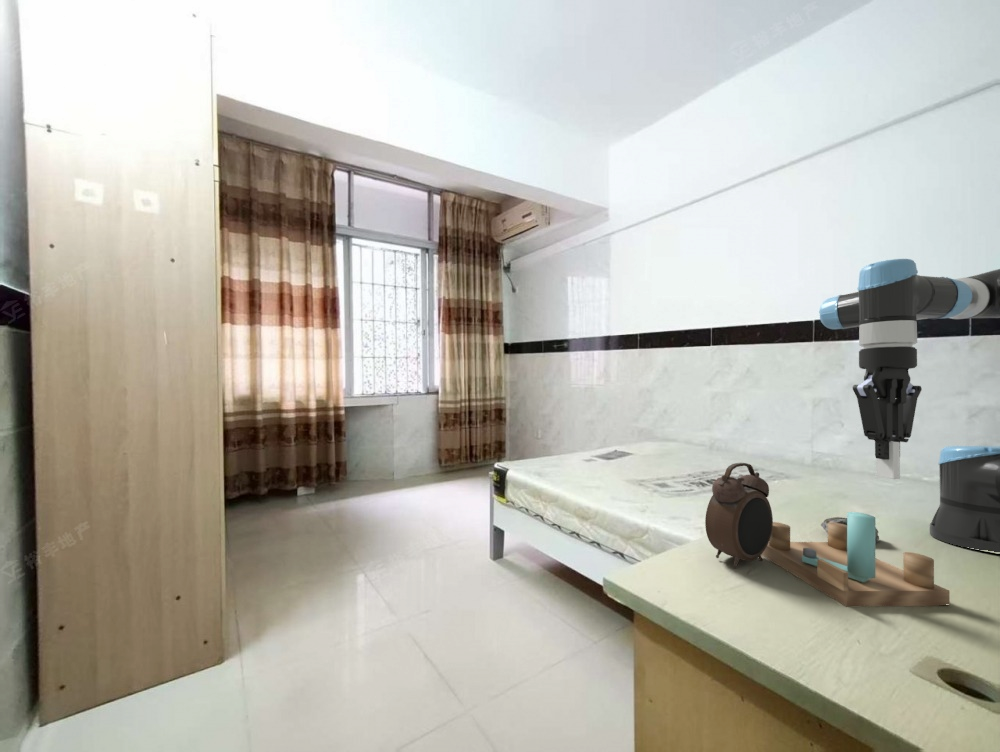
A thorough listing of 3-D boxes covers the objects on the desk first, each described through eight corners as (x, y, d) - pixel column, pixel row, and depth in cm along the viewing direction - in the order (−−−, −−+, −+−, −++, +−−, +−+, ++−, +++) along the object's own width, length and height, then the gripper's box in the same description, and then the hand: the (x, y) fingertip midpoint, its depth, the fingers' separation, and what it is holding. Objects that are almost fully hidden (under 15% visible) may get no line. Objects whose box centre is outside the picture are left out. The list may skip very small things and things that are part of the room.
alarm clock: (737, 576, 74) (738, 469, 74) (701, 560, 80) (702, 462, 81) (780, 561, 80) (780, 464, 81) (744, 548, 87) (744, 458, 87)
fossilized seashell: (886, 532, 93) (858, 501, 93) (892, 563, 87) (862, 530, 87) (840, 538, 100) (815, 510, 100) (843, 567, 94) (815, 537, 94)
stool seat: (839, 553, 85) (839, 521, 85) (949, 605, 65) (949, 563, 65) (757, 553, 84) (757, 521, 84) (843, 606, 64) (843, 563, 64)
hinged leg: (807, 557, 76) (808, 500, 76) (878, 581, 67) (878, 516, 67) (799, 561, 74) (799, 503, 74) (870, 586, 65) (870, 520, 66)
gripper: (890, 350, 76) (890, 471, 76) (836, 347, 73) (837, 473, 73) (940, 346, 69) (941, 481, 68) (883, 343, 66) (884, 483, 66)
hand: (887, 477), depth 71 cm, fingers closed
